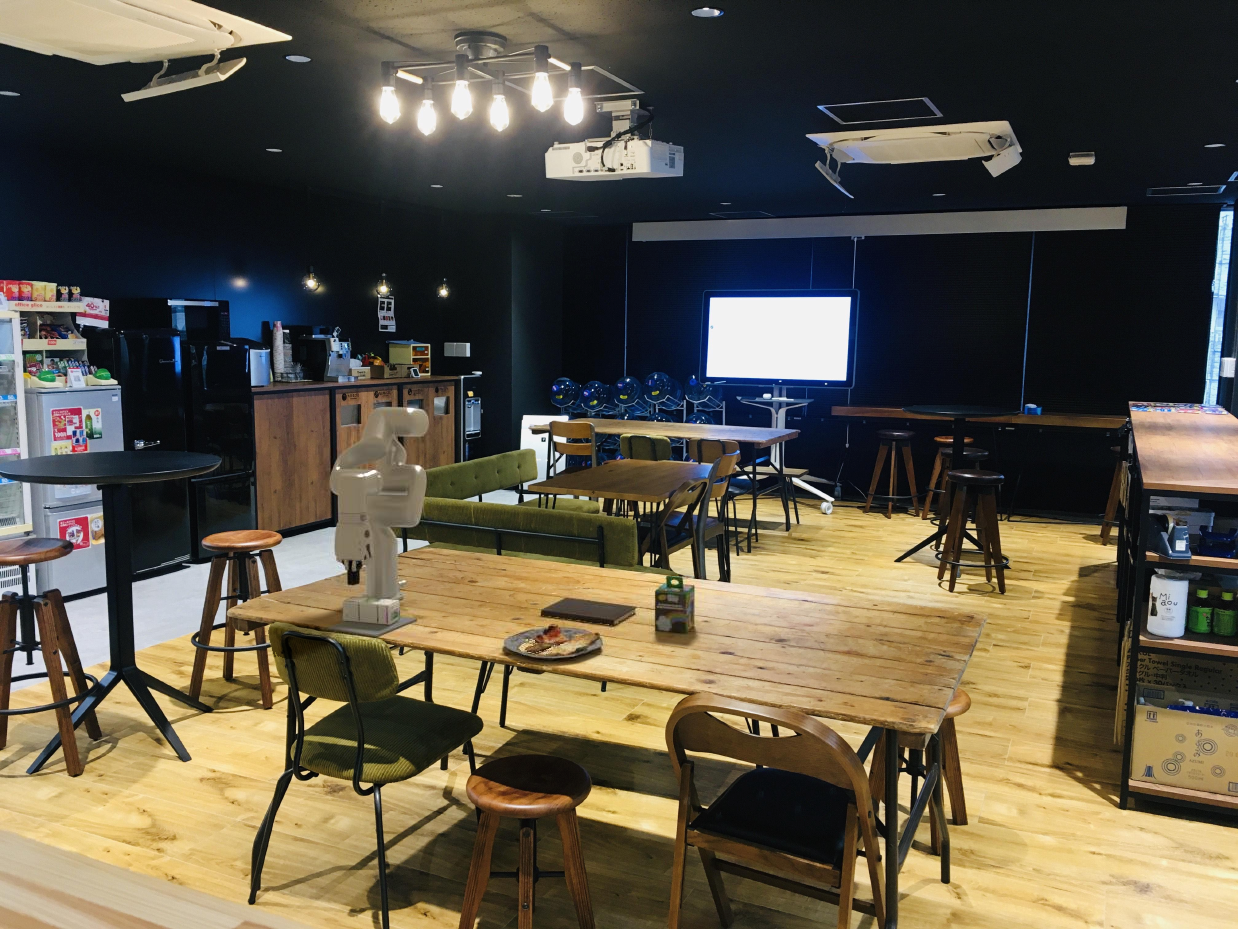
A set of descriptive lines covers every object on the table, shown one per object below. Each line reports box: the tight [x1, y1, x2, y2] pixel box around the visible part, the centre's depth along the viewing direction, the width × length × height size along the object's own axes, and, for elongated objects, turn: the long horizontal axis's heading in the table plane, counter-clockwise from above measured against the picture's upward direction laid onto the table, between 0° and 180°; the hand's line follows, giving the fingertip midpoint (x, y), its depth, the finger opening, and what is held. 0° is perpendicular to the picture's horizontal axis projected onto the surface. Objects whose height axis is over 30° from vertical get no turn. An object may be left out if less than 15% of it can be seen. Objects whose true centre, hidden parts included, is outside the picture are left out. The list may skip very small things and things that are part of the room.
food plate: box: [503, 624, 604, 661], centre depth 247 cm, size 25×23×4 cm
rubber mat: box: [327, 615, 418, 638], centre depth 265 cm, size 18×16×1 cm
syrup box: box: [342, 596, 401, 625], centre depth 267 cm, size 6×6×14 cm
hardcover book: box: [540, 597, 638, 626], centre depth 280 cm, size 16×23×2 cm
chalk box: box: [654, 575, 696, 635], centre depth 266 cm, size 9×9×15 cm
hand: (353, 584), depth 266 cm, fingers closed
